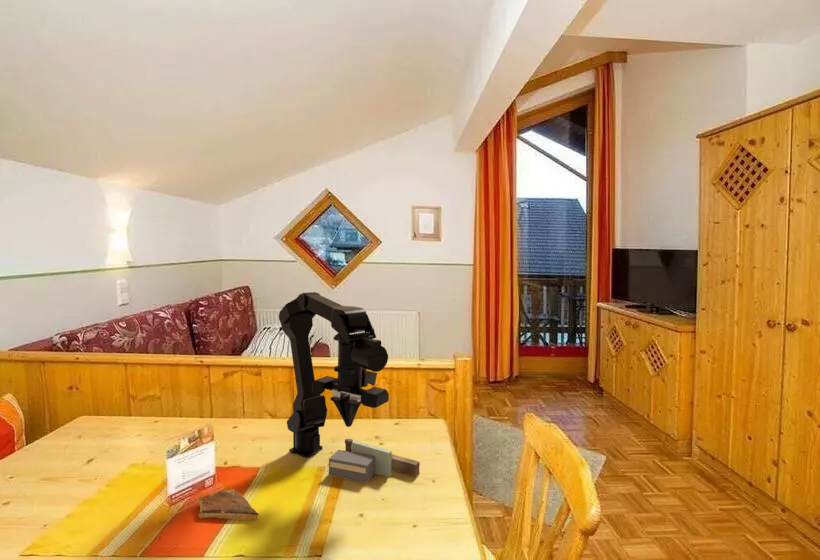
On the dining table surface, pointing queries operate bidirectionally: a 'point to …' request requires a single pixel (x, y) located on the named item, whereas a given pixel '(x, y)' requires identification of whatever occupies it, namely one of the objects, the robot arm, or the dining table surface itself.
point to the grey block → (352, 466)
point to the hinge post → (348, 445)
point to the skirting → (405, 465)
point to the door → (380, 454)
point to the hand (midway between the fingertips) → (348, 426)
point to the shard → (226, 506)
